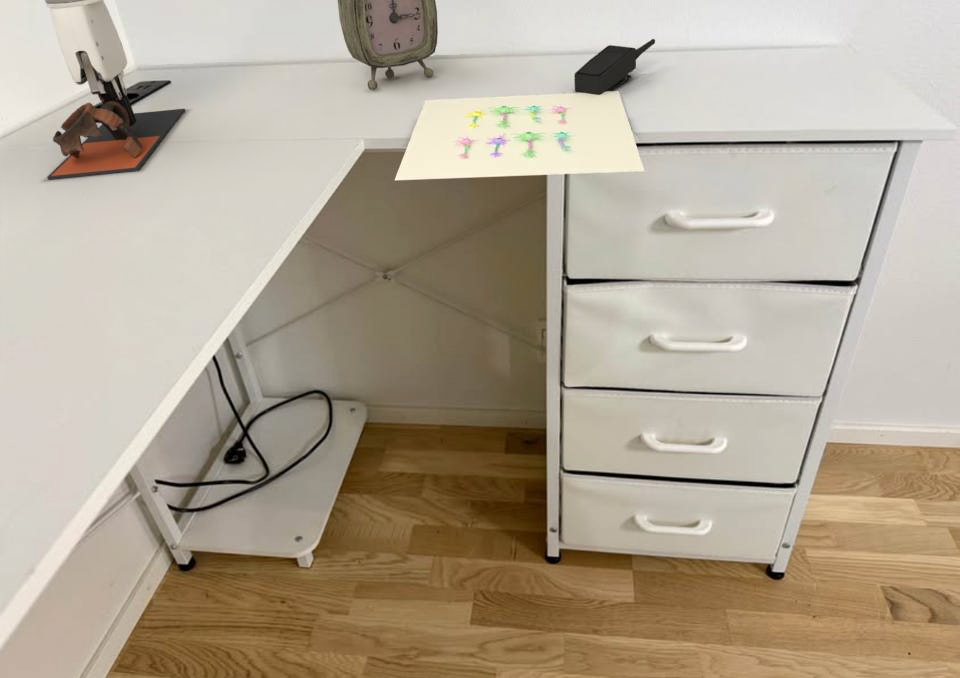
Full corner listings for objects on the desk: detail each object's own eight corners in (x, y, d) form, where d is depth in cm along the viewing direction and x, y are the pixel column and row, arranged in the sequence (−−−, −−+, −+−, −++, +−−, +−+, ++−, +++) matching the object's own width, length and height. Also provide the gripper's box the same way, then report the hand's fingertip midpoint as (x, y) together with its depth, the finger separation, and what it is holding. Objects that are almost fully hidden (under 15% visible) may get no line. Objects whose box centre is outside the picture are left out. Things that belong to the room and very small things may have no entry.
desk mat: (48, 179, 91) (46, 176, 91) (111, 118, 112) (110, 115, 112) (138, 170, 92) (137, 167, 91) (185, 110, 113) (184, 108, 112)
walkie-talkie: (561, 81, 105) (623, 39, 116) (587, 112, 106) (645, 67, 117) (585, 55, 100) (647, 13, 111) (612, 88, 101) (670, 44, 112)
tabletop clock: (366, 95, 113) (338, -80, 98) (347, 83, 120) (318, -82, 105) (443, 78, 119) (427, -91, 104) (420, 67, 125) (402, -92, 110)
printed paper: (425, 102, 106) (424, 92, 106) (618, 93, 104) (619, 83, 103) (394, 182, 83) (393, 171, 82) (644, 173, 80) (645, 161, 79)
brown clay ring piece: (135, 169, 92) (80, 123, 87) (91, 197, 96) (36, 155, 91) (160, 118, 100) (111, 73, 94) (119, 146, 104) (70, 105, 98)
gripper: (65, -16, 97) (115, 112, 108) (20, 3, 85) (81, 145, 96) (118, -21, 98) (163, 107, 108) (81, -3, 85) (135, 139, 96)
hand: (124, 124), depth 102 cm, fingers closed
